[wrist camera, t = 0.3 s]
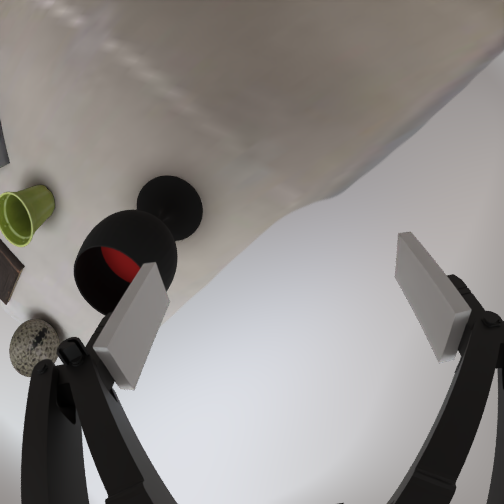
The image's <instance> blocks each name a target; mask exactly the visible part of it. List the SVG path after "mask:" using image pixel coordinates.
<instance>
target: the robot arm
mask: <svg viewBox="0 0 504 504" xmlns="http://www.w3.org/2000/svg"><path fill="white" fill-rule="evenodd" d="M395 278H396V280H397V282H398V284H399V285H400V287H401V289H402V291H403V293H404V294H405V296H406V298H407V300H408V302H409V304H410V306H411V307H412V309H413V311H414V313H415V315H416V317H417V319H418V321H419V323H420V325H421V327H422V329H423V331H424V333H425V335H426V336H427V339H428V341H429V343H430V345H431V347H432V349H433V351H434V353H435V356H436V358H437V360H438V362H439V363H443V362H447V361H451V360H454V358H455V356H456V353H457V351H459V353H460V355H461V359H460V361H459V364H458V366H457V368H456V371H455V375H454V378H453V380H452V383H451V385H450V388H449V390H448V393H447V395H446V398H445V400H444V402H443V405H442V407H441V409H440V411H439V414H438V416H437V418H436V420H435V422H434V424H433V426H432V428H431V430H430V432H429V434H428V436H427V438H426V440H425V442H424V444H423V446H422V448H421V450H420V452H419V453H418V455H417V457H416V459H415V461H414V463H413V464H412V466H411V467H410V469H409V471H408V473H407V474H406V476H405V477H404V479H403V481H402V482H401V484H400V485H399V487H398V489H397V490H396V492H395V493H394V494H393V496H392V497H391V499H390V500H389V501H388V503H387V504H449V503H450V501H451V499H452V497H453V495H454V493H455V490H456V485H455V483H456V480H457V478H458V476H459V474H460V472H461V469H462V467H463V465H464V463H465V460H466V458H467V455H468V453H469V450H470V448H471V445H472V443H473V440H474V437H475V435H476V432H477V429H478V427H479V424H480V421H481V418H482V415H483V412H484V408H485V405H486V402H487V398H488V395H489V391H490V387H491V383H492V379H493V376H494V371H495V368H498V423H497V437H496V448H495V457H494V465H493V472H492V479H491V484H490V490H489V495H488V499H487V504H504V321H502V319H501V317H500V316H498V315H497V314H496V313H493V312H491V311H485V310H484V308H483V307H482V306H481V304H480V303H479V302H478V300H477V299H476V298H475V296H474V295H473V294H472V293H471V291H470V290H469V288H467V286H466V285H465V283H464V282H463V281H462V280H461V279H460V278H458V277H457V276H455V275H448V276H446V274H445V273H444V272H443V271H442V269H441V268H440V267H439V265H438V264H437V263H436V262H435V260H434V259H433V258H432V257H431V255H430V254H429V253H428V252H427V251H426V249H425V248H424V247H423V246H422V245H421V243H420V242H419V241H418V240H417V239H416V237H415V236H414V235H413V234H412V233H411V232H405V233H398V243H397V258H396V271H395ZM169 303H170V300H169V298H168V295H167V292H166V290H165V287H164V284H163V282H162V279H161V276H160V273H159V270H158V268H157V265H156V262H153V263H145V264H143V265H142V267H141V268H140V270H139V272H138V273H137V275H136V276H135V278H134V279H133V281H132V282H131V284H130V286H129V287H128V289H127V290H126V292H125V293H124V295H123V297H122V298H121V300H120V301H119V303H118V305H117V306H116V308H115V310H114V311H113V312H109V313H108V314H107V315H106V316H105V317H104V318H103V319H102V320H101V322H100V324H99V325H98V327H97V328H96V330H95V333H93V335H92V337H91V338H90V340H89V342H88V344H87V345H86V347H85V346H84V345H83V343H82V342H81V340H80V339H79V338H77V337H71V338H68V339H66V340H65V341H63V342H62V343H61V344H60V345H59V346H58V348H57V352H56V353H57V355H58V356H59V358H60V359H61V361H62V362H63V365H58V366H55V364H54V363H53V362H52V360H50V359H44V360H41V361H39V362H38V363H37V364H36V365H35V366H34V368H33V370H32V374H31V380H30V386H29V392H28V398H27V405H26V413H25V421H24V431H23V444H22V463H21V499H22V500H21V501H22V504H89V499H88V493H87V486H86V477H85V468H84V458H83V446H82V430H81V429H83V432H84V435H85V438H86V441H87V444H88V447H89V449H90V452H91V455H92V457H93V460H94V462H95V465H96V468H97V470H98V473H99V475H100V477H101V480H102V482H103V484H104V486H105V489H106V491H107V494H108V498H107V499H106V500H105V503H106V504H177V502H176V501H175V500H174V498H173V497H172V495H171V494H170V492H169V491H168V489H167V488H166V486H165V484H164V483H163V481H162V480H161V478H160V476H159V475H158V473H157V471H156V470H155V468H154V466H153V465H152V463H151V461H150V459H149V458H148V456H147V454H146V452H145V451H144V449H143V447H142V445H141V443H140V442H139V440H138V438H137V436H136V434H135V432H134V430H133V428H132V426H131V424H130V422H129V420H128V418H127V416H126V414H125V412H124V410H123V408H122V406H121V404H120V401H119V400H118V397H117V395H116V392H115V391H114V390H113V388H112V386H113V384H114V382H116V384H117V385H118V386H119V388H120V389H124V390H125V389H126V390H135V387H136V384H137V382H138V379H139V376H140V374H141V372H142V369H143V367H144V364H145V361H146V359H147V356H148V354H149V351H150V349H151V346H152V344H153V341H154V339H155V337H156V334H157V331H158V329H159V327H160V325H161V322H162V320H163V317H164V315H165V313H166V310H167V308H168V306H169ZM81 426H82V428H81ZM339 504H343V503H339Z"/></svg>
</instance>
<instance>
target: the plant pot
mask: <svg viewBox="0 0 504 504" xmlns="http://www.w3.org/2000/svg"><path fill="white" fill-rule="evenodd" d="M54 207H55V203H54V198H53V195H52V193H51V192H50V191H49V190H48V189H47V188H46V187H45V186H43V185H37V186H33V187H30V188H27V189H24V190H21V191H18V192H5V193H3V194H1V195H0V230H1V232H2V233H3V235H4V236H5V238H6V239H7V240H8V241H9V242H10V243H11V244H13V245H15V246H17V247H25V246H27V245H28V244H29V243H30V242H31V240H32V237H33V235H34V233H35V231H36V230H37V229H38V228H39V227H40V226H41V225H42V224H43V223H44V222H45V221H46V219H47V218H48V217H49V216H50V215H51V214H52V212H53V210H54Z"/></svg>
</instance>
